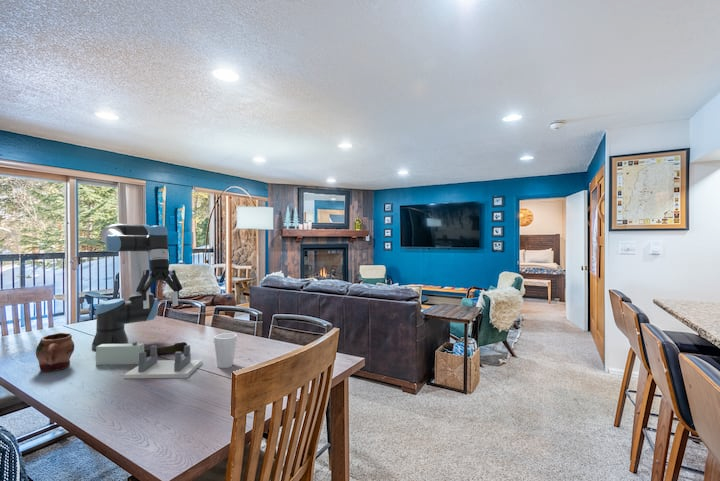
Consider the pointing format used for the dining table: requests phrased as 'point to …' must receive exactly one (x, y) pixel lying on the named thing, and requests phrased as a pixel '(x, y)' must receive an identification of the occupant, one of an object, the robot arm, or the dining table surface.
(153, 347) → the clip rack
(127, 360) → the tapered bar with knob
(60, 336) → the decorative planter
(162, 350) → the hand tool
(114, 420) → the dining table surface
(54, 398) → the dining table surface
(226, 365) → the foam cup
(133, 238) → the robot arm
